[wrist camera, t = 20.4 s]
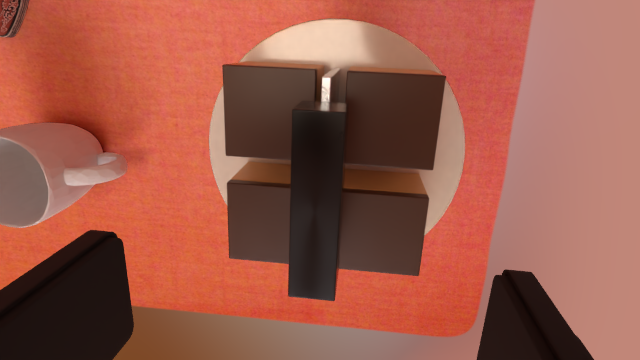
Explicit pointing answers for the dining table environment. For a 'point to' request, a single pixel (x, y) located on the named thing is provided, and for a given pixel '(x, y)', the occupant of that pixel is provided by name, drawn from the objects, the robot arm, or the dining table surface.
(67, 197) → the mug
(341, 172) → the knife
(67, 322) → the robot arm
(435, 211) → the cake stand
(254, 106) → the cake
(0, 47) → the dining table surface
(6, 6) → the lighter
